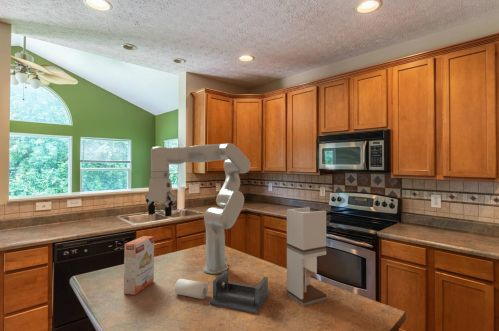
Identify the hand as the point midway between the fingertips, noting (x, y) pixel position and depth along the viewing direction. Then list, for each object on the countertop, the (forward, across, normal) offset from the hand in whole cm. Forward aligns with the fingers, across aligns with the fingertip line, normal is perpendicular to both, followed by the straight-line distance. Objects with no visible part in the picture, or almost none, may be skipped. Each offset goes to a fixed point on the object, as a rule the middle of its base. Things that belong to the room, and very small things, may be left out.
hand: (159, 215), depth 118 cm
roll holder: (+32, -36, -8) cm, 48 cm away
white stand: (+32, -58, -21) cm, 70 cm away
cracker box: (+32, +8, +3) cm, 33 cm away
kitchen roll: (+29, -16, -1) cm, 33 cm away
